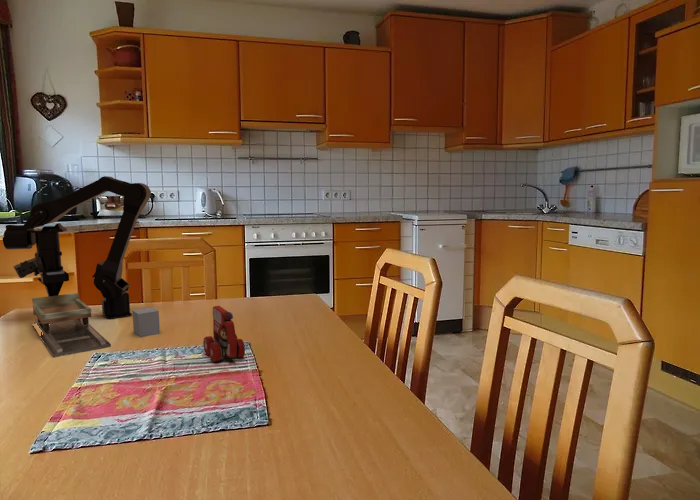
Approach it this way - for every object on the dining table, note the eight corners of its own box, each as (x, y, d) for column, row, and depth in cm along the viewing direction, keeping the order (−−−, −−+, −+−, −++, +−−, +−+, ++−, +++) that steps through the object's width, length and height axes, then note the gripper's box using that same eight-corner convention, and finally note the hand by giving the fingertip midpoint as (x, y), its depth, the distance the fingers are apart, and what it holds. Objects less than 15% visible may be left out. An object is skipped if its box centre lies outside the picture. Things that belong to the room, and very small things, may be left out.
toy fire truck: (216, 367, 110) (214, 318, 108) (201, 351, 120) (199, 306, 119) (249, 361, 113) (247, 313, 112) (231, 346, 124) (229, 302, 122)
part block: (153, 329, 138) (152, 307, 137) (159, 333, 134) (158, 310, 133) (133, 333, 135) (132, 310, 134) (139, 337, 131) (138, 314, 130)
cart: (79, 314, 149) (77, 292, 148) (92, 326, 136) (90, 302, 135) (34, 320, 142) (32, 298, 141) (43, 333, 130) (41, 309, 129)
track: (80, 318, 150) (80, 313, 150) (110, 346, 124) (110, 340, 124) (31, 325, 143) (31, 320, 143) (52, 357, 117) (52, 351, 116)
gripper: (10, 247, 150) (15, 301, 152) (18, 254, 135) (23, 314, 137) (55, 244, 157) (59, 296, 159) (67, 250, 142) (71, 307, 144)
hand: (53, 303), depth 149 cm, fingers closed
